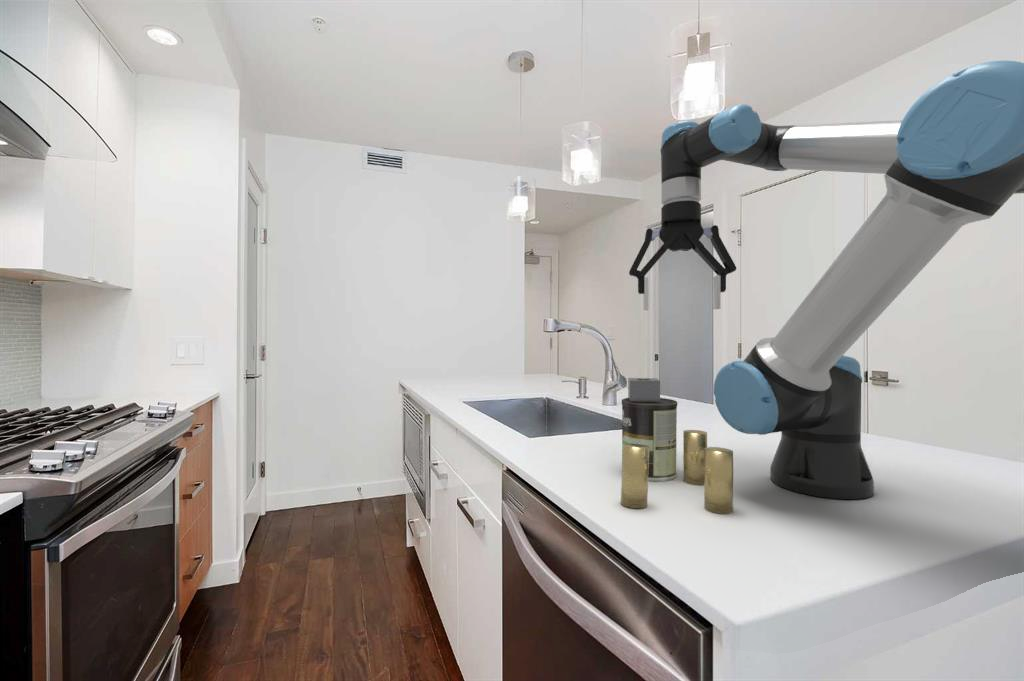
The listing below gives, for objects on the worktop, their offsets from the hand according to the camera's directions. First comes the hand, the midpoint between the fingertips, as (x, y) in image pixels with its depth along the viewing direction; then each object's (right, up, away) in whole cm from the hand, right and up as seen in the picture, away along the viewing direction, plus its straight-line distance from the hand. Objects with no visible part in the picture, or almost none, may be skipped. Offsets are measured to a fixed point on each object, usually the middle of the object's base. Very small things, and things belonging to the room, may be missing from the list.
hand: (680, 309), depth 94 cm
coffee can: (-8, -32, -5) cm, 33 cm away
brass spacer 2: (-1, -32, -10) cm, 33 cm away
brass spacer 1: (-15, -32, -21) cm, 41 cm away
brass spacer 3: (-3, -32, -23) cm, 40 cm away
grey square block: (-9, -18, -4) cm, 20 cm away
